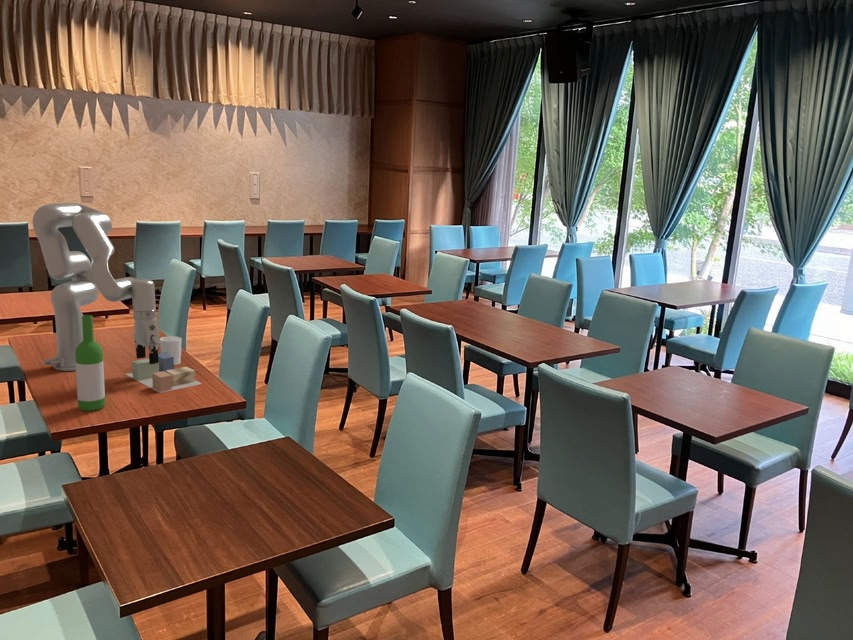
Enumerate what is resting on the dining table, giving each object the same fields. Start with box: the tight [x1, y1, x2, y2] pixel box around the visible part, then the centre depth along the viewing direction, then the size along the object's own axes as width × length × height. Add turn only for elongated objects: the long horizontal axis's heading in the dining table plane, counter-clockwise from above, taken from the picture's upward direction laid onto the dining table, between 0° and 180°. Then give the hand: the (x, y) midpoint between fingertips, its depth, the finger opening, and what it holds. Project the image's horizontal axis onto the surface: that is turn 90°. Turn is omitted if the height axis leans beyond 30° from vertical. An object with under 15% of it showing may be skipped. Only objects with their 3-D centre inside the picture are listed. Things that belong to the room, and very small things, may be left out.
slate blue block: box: [158, 352, 175, 372], centre depth 256 cm, size 7×4×6 cm, turn 48°
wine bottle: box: [75, 314, 106, 412], centre depth 214 cm, size 8×8×30 cm
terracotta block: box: [152, 371, 172, 391], centre depth 238 cm, size 4×6×5 cm, turn 48°
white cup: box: [159, 335, 182, 366], centre depth 266 cm, size 8×8×10 cm
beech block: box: [166, 366, 196, 385], centre depth 246 cm, size 8×6×4 cm
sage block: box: [131, 357, 159, 381], centre depth 249 cm, size 8×4×6 cm, turn 138°
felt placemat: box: [125, 372, 203, 394], centre depth 248 cm, size 16×26×1 cm, turn 48°
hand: (147, 360), depth 248 cm, fingers open, 9 cm apart
